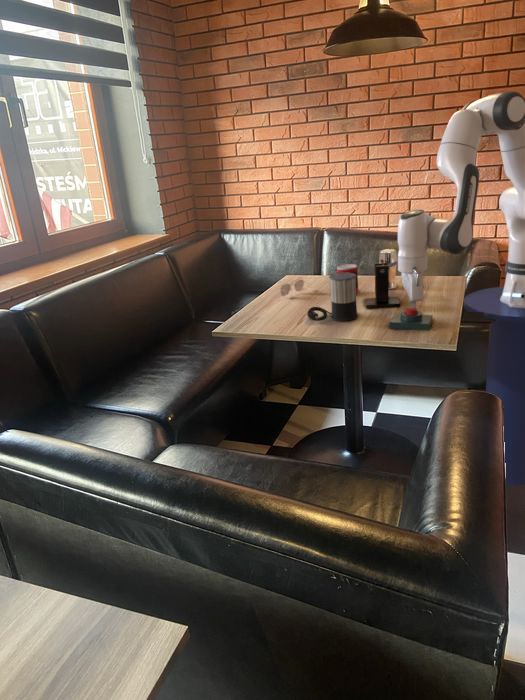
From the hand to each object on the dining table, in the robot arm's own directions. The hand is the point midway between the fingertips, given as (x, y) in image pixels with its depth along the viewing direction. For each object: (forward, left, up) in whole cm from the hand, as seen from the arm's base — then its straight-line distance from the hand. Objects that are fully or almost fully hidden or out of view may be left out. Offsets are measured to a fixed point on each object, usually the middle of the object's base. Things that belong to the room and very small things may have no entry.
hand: (412, 307), depth 171 cm
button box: (0, 0, -6) cm, 6 cm away
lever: (+16, -20, +8) cm, 27 cm away
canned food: (+41, -23, -6) cm, 48 cm away
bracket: (+21, -16, -6) cm, 27 cm away
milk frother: (+27, +6, -6) cm, 29 cm away
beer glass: (+31, -37, -6) cm, 49 cm away
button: (0, 0, -2) cm, 2 cm away
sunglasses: (+58, -12, -6) cm, 60 cm away
